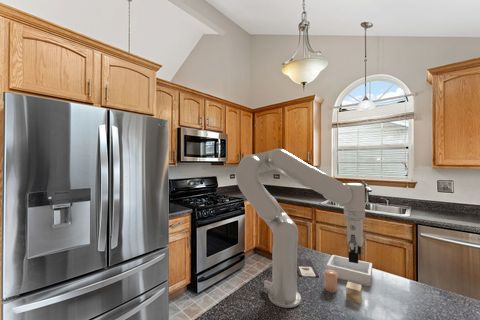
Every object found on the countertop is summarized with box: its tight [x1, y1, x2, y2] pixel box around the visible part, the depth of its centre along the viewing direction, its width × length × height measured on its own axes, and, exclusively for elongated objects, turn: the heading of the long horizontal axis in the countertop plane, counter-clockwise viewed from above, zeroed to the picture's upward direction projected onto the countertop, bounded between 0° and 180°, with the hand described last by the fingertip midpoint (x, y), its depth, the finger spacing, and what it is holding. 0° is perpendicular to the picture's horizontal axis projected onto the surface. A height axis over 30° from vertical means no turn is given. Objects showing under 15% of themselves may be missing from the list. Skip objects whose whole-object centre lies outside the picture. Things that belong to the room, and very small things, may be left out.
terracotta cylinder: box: [324, 269, 338, 293], centre depth 96 cm, size 5×5×7 cm
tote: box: [326, 254, 373, 288], centre depth 108 cm, size 18×14×5 cm
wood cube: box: [345, 281, 363, 305], centre depth 89 cm, size 5×5×5 cm
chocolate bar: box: [297, 258, 319, 278], centre depth 115 cm, size 9×1×18 cm
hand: (355, 257), depth 89 cm, fingers open, 9 cm apart
